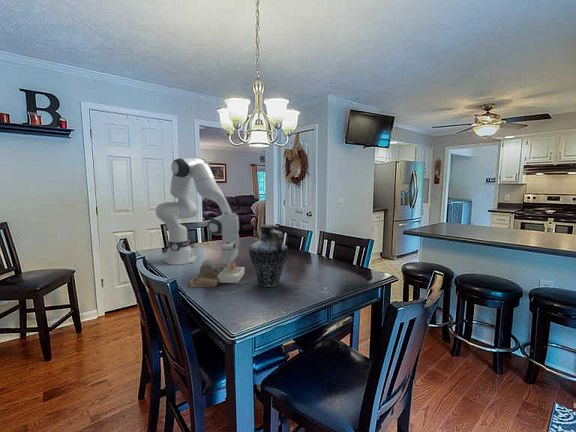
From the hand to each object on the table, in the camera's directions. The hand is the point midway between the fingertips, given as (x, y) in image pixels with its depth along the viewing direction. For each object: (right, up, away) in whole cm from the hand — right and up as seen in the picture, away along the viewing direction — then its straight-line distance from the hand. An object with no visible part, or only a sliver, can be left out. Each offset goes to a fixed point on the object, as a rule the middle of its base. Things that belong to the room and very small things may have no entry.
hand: (231, 267), depth 161 cm
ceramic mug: (-13, -5, +5) cm, 15 cm away
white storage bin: (0, -5, 0) cm, 5 cm away
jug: (+22, -7, -10) cm, 25 cm away
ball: (0, +1, 0) cm, 1 cm away
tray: (-11, -6, -8) cm, 15 cm away
